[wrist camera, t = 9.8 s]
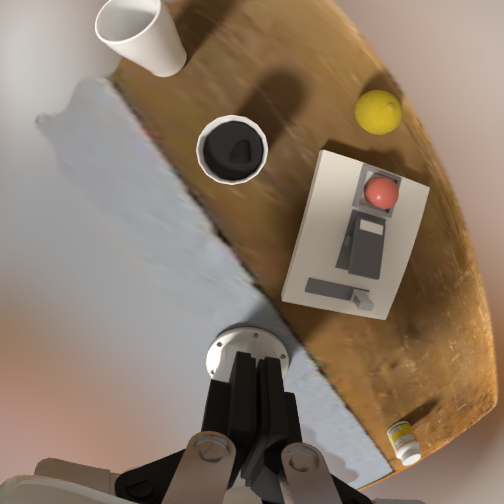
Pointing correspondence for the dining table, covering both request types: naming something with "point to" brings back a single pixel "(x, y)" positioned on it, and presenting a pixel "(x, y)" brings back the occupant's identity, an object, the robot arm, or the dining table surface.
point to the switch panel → (350, 237)
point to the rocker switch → (367, 248)
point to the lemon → (378, 112)
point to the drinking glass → (142, 34)
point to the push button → (381, 192)
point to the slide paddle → (361, 300)
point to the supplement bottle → (404, 442)
